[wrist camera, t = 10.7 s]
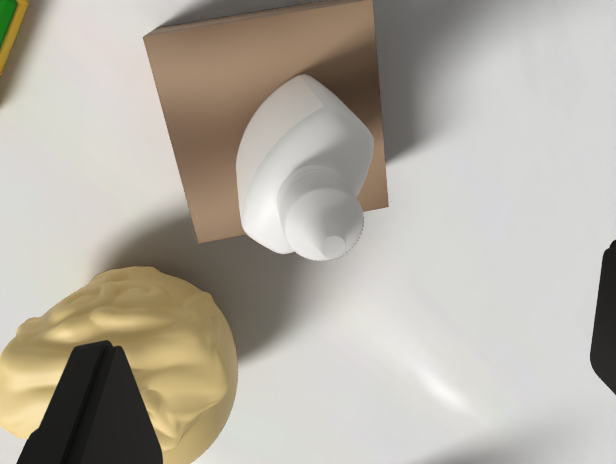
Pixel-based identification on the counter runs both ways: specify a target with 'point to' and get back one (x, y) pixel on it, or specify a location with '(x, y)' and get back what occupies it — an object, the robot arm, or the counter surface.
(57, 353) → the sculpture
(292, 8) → the walnut base
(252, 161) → the eye dropper bottle
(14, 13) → the dish sponge
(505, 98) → the counter surface
